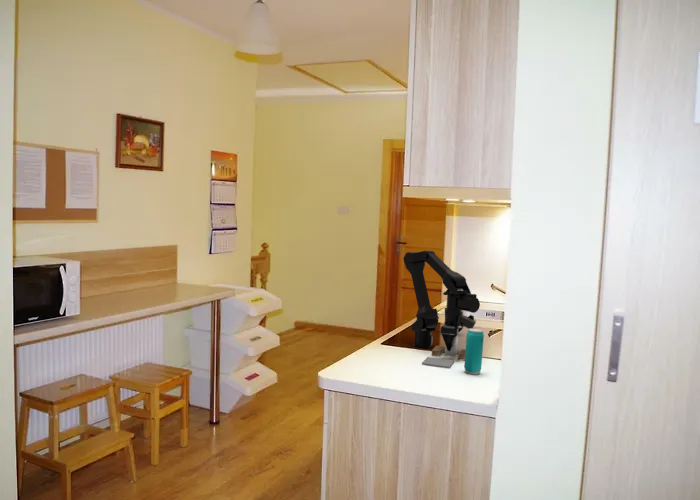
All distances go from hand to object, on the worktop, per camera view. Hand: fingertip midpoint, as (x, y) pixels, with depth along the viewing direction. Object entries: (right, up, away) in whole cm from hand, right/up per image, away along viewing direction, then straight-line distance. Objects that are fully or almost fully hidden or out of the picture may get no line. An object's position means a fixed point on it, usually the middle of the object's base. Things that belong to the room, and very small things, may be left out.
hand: (451, 348), depth 223 cm
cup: (+7, -1, +38) cm, 39 cm away
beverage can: (+3, -5, -23) cm, 24 cm away
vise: (+2, -3, -1) cm, 4 cm away
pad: (-7, -3, -13) cm, 15 cm away
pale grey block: (0, -3, 0) cm, 3 cm away
